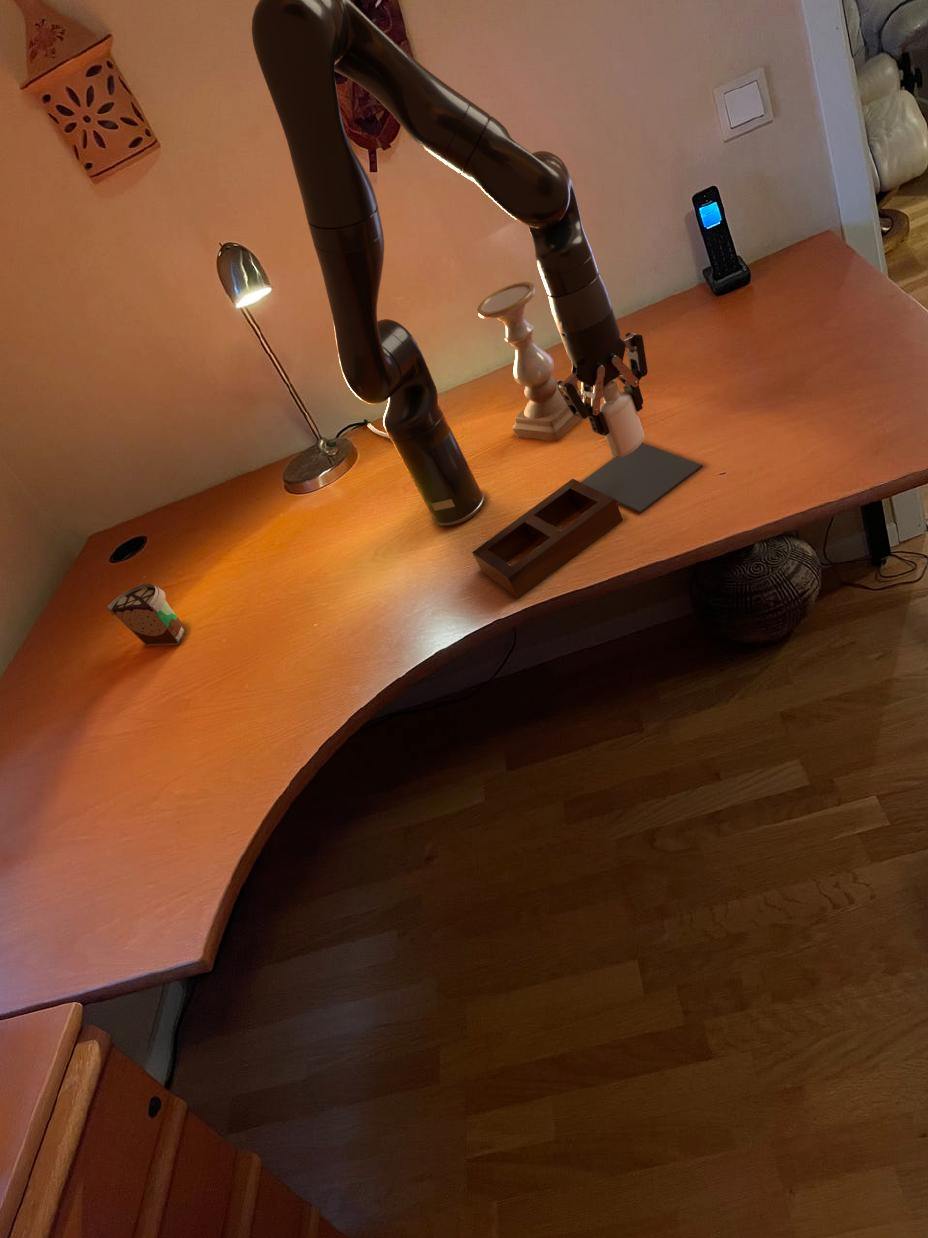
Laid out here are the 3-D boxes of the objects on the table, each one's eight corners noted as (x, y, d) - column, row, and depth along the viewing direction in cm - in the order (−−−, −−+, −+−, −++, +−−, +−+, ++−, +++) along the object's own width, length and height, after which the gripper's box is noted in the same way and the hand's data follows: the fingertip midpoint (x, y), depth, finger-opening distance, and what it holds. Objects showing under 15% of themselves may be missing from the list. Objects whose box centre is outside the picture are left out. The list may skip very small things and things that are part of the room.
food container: (204, 619, 150) (171, 578, 144) (186, 644, 146) (150, 603, 140) (160, 621, 156) (126, 583, 150) (140, 645, 152) (105, 607, 146)
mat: (580, 484, 131) (579, 482, 131) (637, 442, 133) (637, 440, 133) (640, 513, 119) (639, 511, 119) (702, 466, 121) (702, 464, 121)
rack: (482, 572, 125) (471, 552, 122) (580, 498, 128) (572, 478, 126) (518, 599, 117) (508, 578, 114) (623, 520, 120) (615, 498, 117)
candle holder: (550, 401, 156) (503, 281, 141) (595, 404, 148) (549, 277, 134) (514, 436, 152) (461, 316, 137) (558, 441, 144) (507, 314, 130)
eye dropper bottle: (651, 444, 121) (628, 372, 114) (616, 461, 121) (590, 390, 114) (641, 432, 124) (618, 361, 117) (607, 449, 125) (581, 379, 118)
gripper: (607, 283, 114) (641, 389, 124) (526, 339, 112) (567, 443, 122) (642, 288, 108) (674, 399, 118) (557, 347, 106) (597, 455, 116)
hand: (619, 421), depth 120 cm, fingers closed on eye dropper bottle, 5 cm apart
